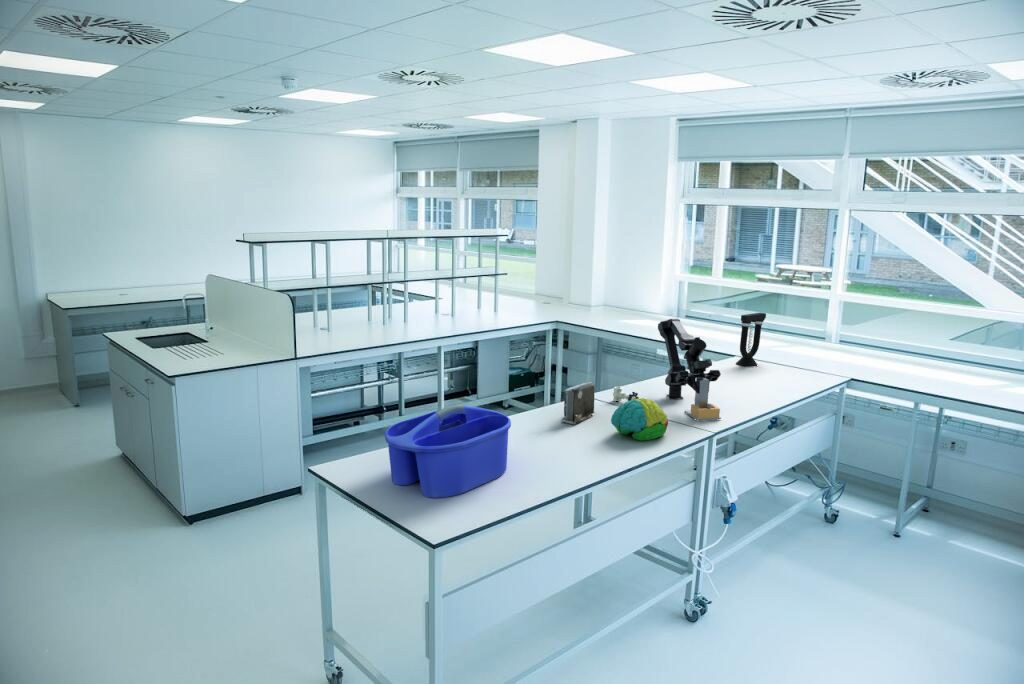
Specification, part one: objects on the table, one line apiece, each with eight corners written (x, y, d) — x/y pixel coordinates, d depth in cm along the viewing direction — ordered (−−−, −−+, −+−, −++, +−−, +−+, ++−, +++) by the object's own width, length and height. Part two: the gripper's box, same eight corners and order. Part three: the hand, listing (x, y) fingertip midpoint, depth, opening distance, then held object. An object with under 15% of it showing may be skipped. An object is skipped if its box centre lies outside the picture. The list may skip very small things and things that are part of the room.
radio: (586, 409, 288) (587, 377, 285) (603, 413, 282) (604, 380, 280) (556, 422, 270) (557, 387, 267) (574, 426, 265) (575, 391, 262)
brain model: (634, 447, 239) (637, 408, 237) (599, 433, 254) (602, 396, 252) (677, 438, 253) (680, 401, 250) (641, 426, 268) (644, 390, 266)
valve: (609, 401, 301) (628, 407, 291) (609, 387, 299) (629, 393, 290) (618, 399, 305) (638, 404, 296) (619, 385, 303) (639, 391, 294)
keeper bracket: (684, 412, 284) (685, 397, 283) (707, 411, 286) (709, 396, 284) (696, 421, 272) (697, 405, 271) (720, 419, 274) (722, 404, 273)
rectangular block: (694, 407, 282) (696, 378, 280) (703, 406, 283) (704, 377, 280) (698, 409, 278) (700, 380, 276) (707, 409, 279) (709, 380, 276)
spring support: (748, 368, 368) (752, 316, 362) (728, 364, 377) (732, 314, 372) (767, 363, 381) (771, 313, 375) (748, 360, 390) (752, 310, 385)
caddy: (365, 482, 207) (363, 412, 203) (462, 445, 241) (462, 385, 237) (434, 511, 187) (432, 434, 183) (529, 467, 221) (530, 401, 217)
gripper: (679, 352, 278) (689, 384, 270) (720, 351, 281) (730, 382, 273) (671, 366, 287) (680, 397, 279) (710, 365, 290) (720, 395, 282)
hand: (703, 393), depth 278 cm, fingers closed on rectangular block, 4 cm apart
